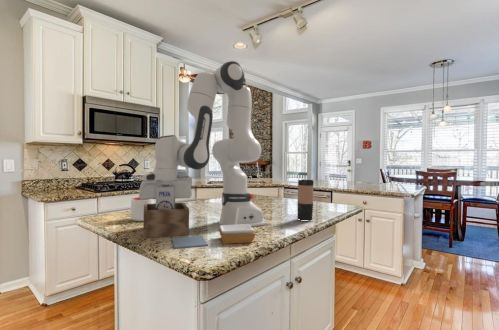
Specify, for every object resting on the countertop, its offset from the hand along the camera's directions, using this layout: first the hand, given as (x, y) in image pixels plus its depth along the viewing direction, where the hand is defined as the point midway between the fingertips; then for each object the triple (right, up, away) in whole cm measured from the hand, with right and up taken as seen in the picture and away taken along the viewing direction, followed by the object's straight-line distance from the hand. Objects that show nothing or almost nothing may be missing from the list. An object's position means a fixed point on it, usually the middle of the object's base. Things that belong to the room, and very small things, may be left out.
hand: (165, 209), depth 113 cm
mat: (+13, -9, -14) cm, 21 cm away
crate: (0, -9, 0) cm, 9 cm away
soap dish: (+29, -10, -10) cm, 32 cm away
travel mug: (+61, -10, +27) cm, 68 cm away
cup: (-17, -8, +21) cm, 28 cm away
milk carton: (0, -9, 0) cm, 9 cm away
